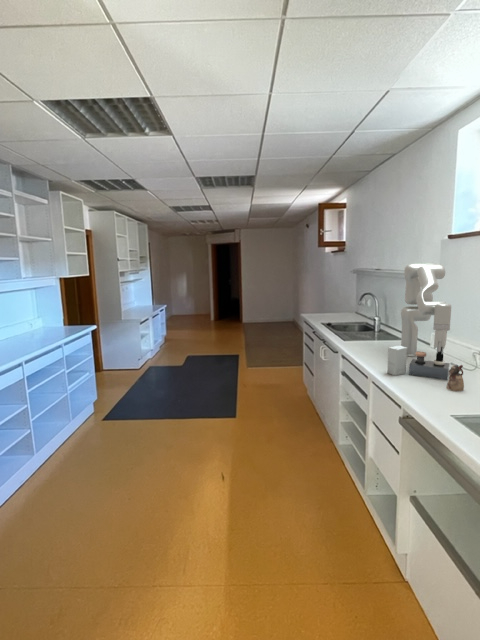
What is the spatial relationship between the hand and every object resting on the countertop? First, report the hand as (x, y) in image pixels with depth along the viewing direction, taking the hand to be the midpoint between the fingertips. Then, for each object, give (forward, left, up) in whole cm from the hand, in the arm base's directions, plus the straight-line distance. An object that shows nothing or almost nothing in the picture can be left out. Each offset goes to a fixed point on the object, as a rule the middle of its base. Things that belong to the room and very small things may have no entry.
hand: (439, 361), depth 191 cm
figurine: (+18, +8, -8) cm, 21 cm away
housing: (0, -5, -8) cm, 9 cm away
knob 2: (0, 0, -8) cm, 8 cm away
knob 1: (0, -9, -4) cm, 10 cm away
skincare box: (+6, -20, -8) cm, 22 cm away
